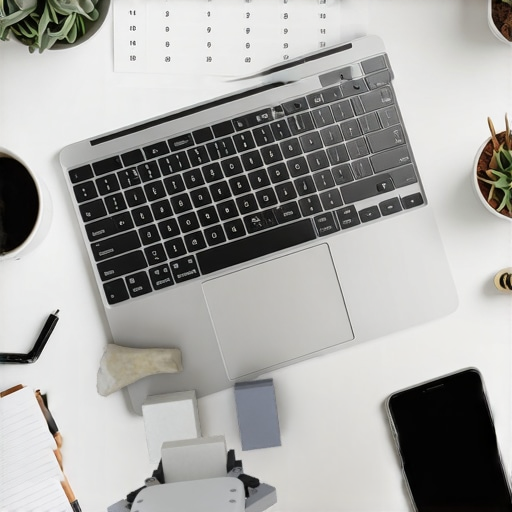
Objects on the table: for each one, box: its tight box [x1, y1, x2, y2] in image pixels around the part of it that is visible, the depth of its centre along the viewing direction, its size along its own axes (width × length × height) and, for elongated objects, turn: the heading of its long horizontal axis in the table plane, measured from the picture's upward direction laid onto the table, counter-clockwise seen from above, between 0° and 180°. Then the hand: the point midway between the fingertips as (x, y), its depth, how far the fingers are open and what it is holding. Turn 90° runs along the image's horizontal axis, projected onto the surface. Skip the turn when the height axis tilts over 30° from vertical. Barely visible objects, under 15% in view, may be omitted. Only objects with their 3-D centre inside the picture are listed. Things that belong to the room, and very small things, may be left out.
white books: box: [141, 389, 203, 464], centre depth 72 cm, size 8×6×4 cm
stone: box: [96, 343, 184, 398], centre depth 71 cm, size 11×6×5 cm, turn 108°
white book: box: [160, 434, 228, 484], centre depth 57 cm, size 8×6×2 cm
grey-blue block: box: [233, 378, 282, 452], centre depth 72 cm, size 8×5×3 cm, turn 8°
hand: (199, 467), depth 59 cm, fingers closed on white book, 6 cm apart
